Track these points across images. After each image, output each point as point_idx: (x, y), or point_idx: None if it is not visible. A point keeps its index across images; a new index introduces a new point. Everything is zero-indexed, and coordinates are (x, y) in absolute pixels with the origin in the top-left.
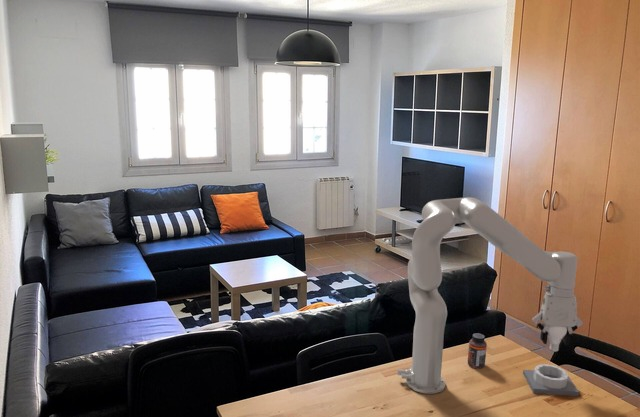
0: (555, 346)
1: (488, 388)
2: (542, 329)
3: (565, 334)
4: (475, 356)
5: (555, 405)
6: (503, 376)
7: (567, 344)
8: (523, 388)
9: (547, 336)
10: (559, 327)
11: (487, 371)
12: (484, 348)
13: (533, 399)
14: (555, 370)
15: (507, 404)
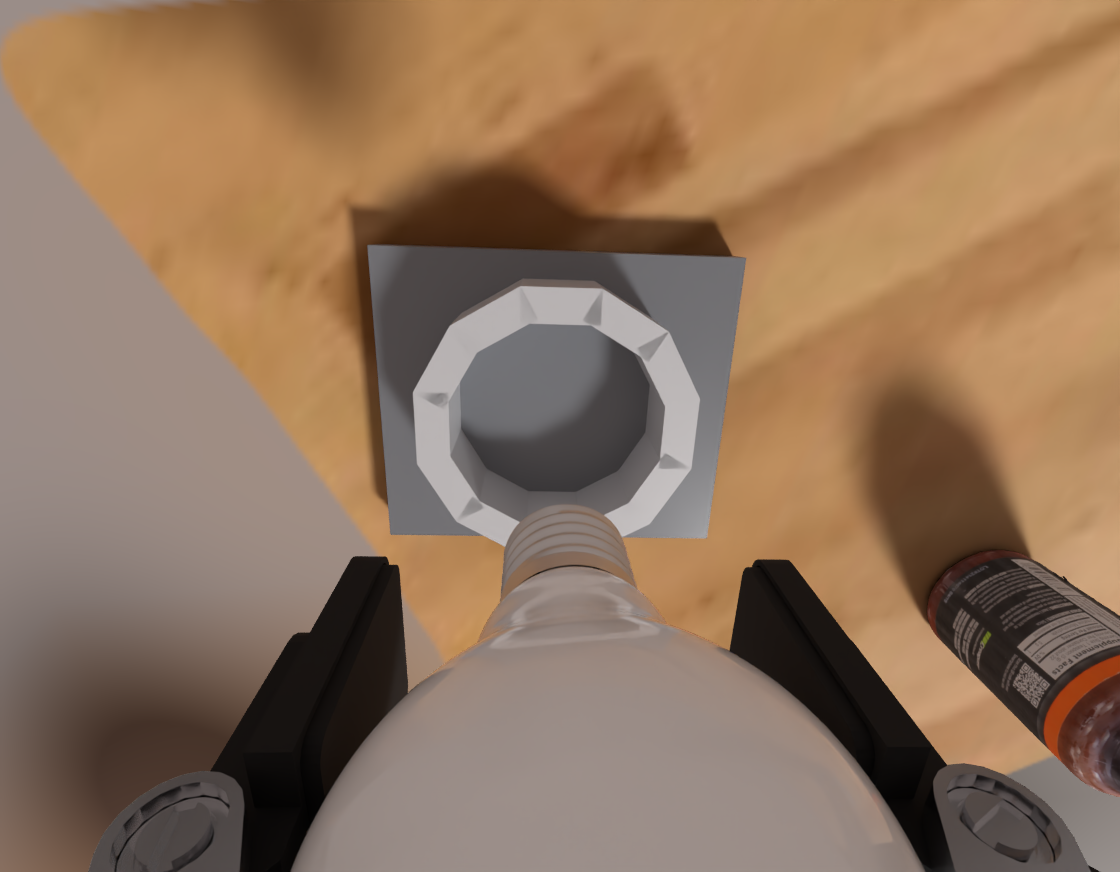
0: (577, 545)
1: (1055, 289)
2: (1060, 867)
3: (378, 724)
4: (1105, 608)
5: (622, 65)
6: (856, 471)
7: (368, 560)
8: (780, 317)
9: (815, 672)
10: None
11: (940, 524)
12: (1102, 669)
13: (771, 151)
14: (490, 495)
15: (1029, 41)
